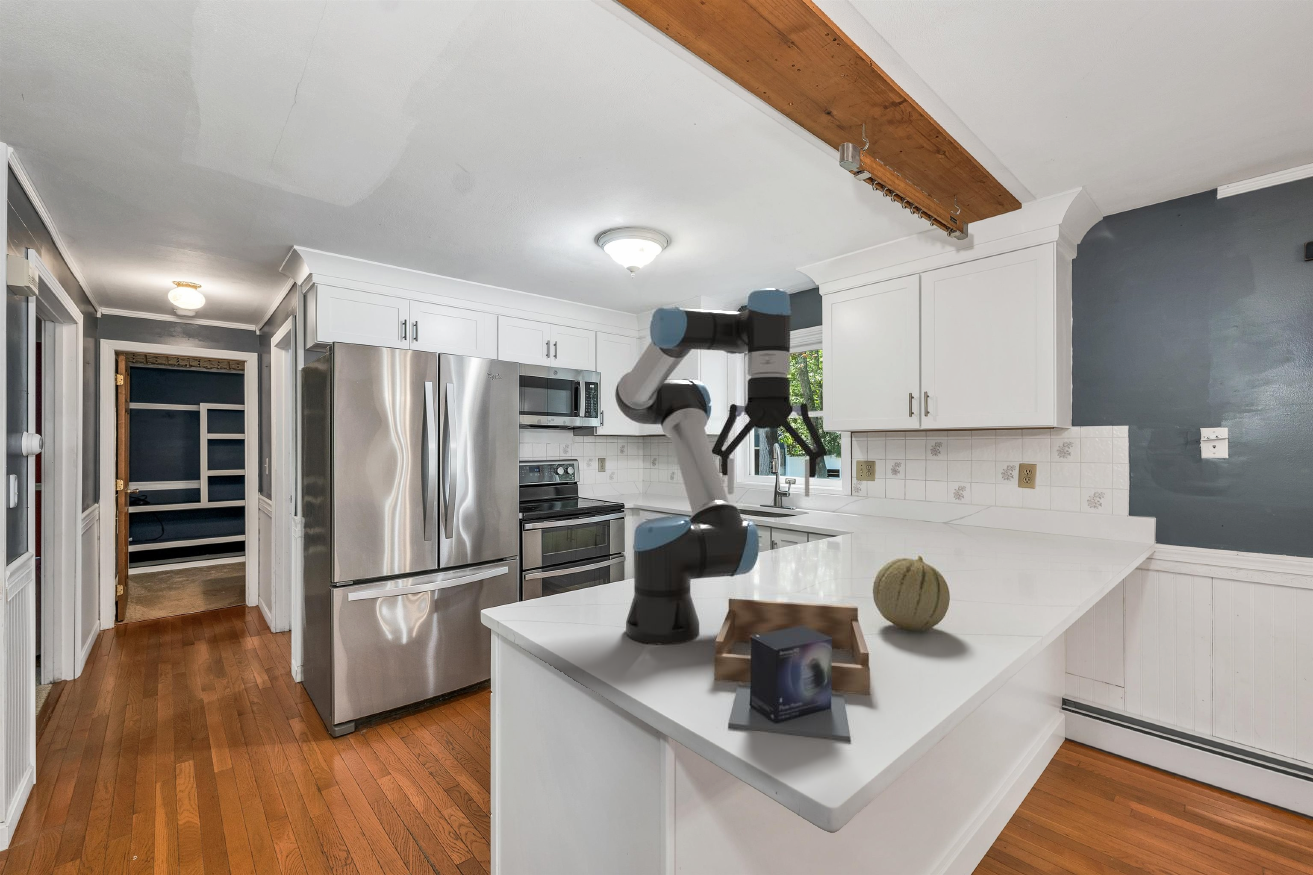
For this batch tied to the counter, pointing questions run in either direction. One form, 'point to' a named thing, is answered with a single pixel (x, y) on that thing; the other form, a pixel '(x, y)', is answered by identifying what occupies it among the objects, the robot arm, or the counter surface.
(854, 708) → the counter surface
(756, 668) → the small box
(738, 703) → the mat
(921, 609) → the cantaloupe
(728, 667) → the open wooden tray
